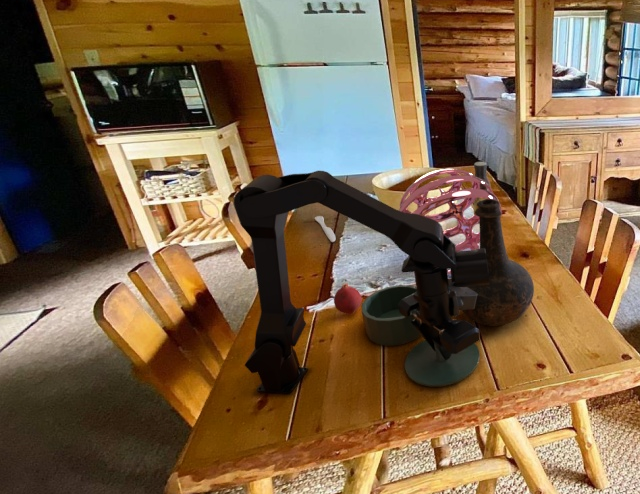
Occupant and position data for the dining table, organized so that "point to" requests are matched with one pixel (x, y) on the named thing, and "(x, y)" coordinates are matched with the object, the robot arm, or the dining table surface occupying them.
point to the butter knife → (326, 228)
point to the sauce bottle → (481, 173)
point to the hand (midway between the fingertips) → (442, 354)
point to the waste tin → (389, 316)
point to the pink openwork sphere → (449, 203)
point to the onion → (347, 299)
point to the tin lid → (440, 365)
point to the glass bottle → (499, 274)
